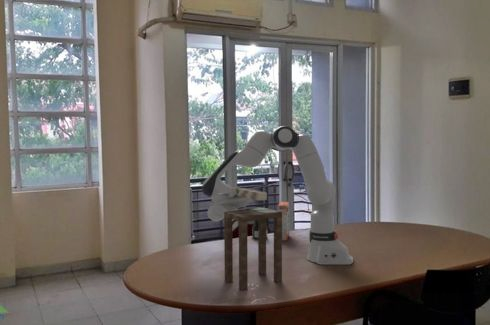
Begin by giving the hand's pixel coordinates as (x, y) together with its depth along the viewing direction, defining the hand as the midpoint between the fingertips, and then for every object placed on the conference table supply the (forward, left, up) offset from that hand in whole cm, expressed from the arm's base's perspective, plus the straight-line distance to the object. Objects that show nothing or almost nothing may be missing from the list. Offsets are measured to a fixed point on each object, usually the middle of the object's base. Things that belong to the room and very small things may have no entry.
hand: (241, 191), depth 200 cm
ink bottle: (+4, -70, -38) cm, 80 cm away
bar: (-4, +4, -2) cm, 6 cm away
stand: (-7, +7, -38) cm, 39 cm away
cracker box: (-10, -72, -38) cm, 82 cm away
